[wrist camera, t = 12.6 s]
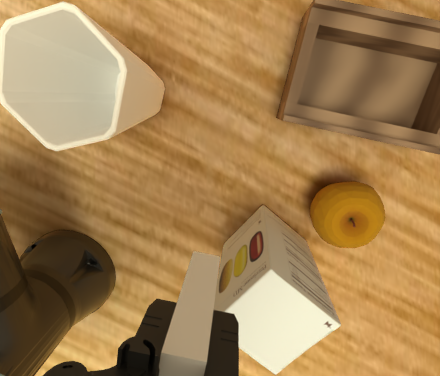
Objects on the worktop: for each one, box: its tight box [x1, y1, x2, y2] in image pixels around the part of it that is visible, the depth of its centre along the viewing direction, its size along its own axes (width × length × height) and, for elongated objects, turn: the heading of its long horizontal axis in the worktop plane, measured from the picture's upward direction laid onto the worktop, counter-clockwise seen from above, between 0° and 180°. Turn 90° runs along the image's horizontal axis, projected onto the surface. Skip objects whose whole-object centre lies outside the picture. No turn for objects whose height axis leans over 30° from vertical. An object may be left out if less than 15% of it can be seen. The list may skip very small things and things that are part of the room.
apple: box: [310, 181, 385, 248], centre depth 36 cm, size 9×8×9 cm
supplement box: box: [214, 205, 341, 374], centre depth 35 cm, size 10×9×17 cm
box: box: [276, 0, 440, 154], centre depth 32 cm, size 18×12×7 cm, turn 78°
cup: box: [0, 2, 165, 151], centre depth 30 cm, size 11×10×17 cm
